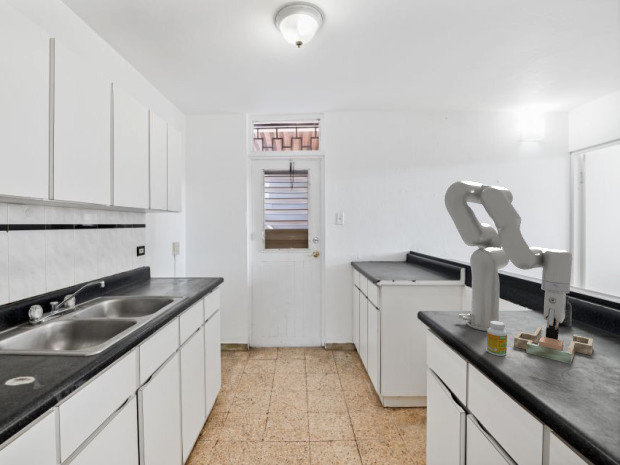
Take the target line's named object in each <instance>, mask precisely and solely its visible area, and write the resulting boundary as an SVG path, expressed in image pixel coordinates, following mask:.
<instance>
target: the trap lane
mask: <svg viewBox="0 0 620 465" xmlns="http://www.w3.org/2000/svg"><path fill="white" fill-rule="evenodd" d="M542 330H543V329H542V327H540V326H538V327H537V328H536V330H535V331H534V333H528V332H524V331H518V332H517V334H515V336H514V339H513V347H515V348H518V349H519V348H520V349H523V350H526V354H530V355H534V356H538V357H543V358H546V359H549V360H554V361H559V362H562V363H566V364H569V365H571V364H572V362H573V359H574V355H575V353H579V354H583V355H589V356H592V354H593V348H594V338H590V337H584V336H580V335H578V334H575V333H574V334H573V335H572V340H570V344H569V346H568V349H567V351H565V350H563V351H561V350H557V349H553V348H548V347H544V346H540V345H539V344H537V343H539V340H540V339H541V337H542Z"/></svg>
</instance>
